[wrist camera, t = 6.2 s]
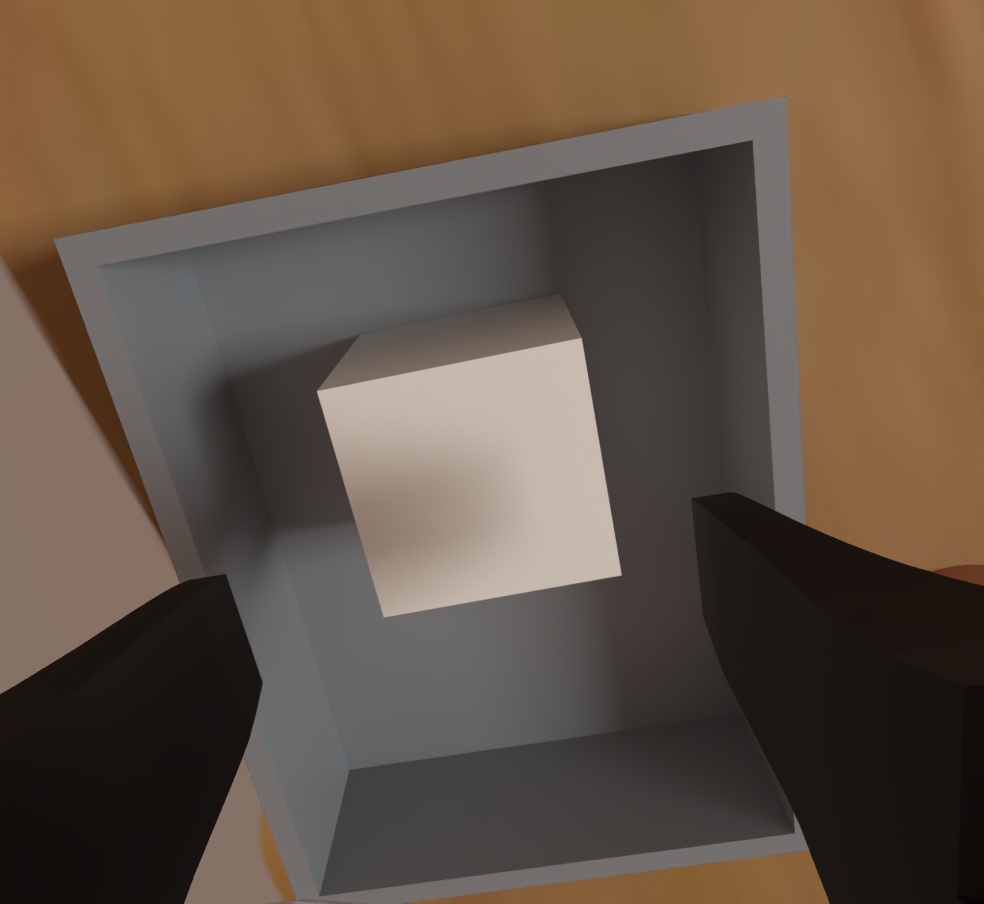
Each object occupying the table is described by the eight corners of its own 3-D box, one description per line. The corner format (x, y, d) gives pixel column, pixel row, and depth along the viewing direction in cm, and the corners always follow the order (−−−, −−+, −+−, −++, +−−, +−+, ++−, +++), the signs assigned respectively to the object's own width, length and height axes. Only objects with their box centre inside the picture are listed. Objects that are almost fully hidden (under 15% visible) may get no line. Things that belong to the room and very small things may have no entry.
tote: (757, 713, 24) (820, 848, 19) (338, 773, 25) (302, 916, 20) (710, 111, 18) (785, 96, 13) (163, 219, 19) (53, 239, 14)
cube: (592, 480, 21) (621, 575, 16) (408, 515, 21) (383, 617, 16) (560, 293, 19) (581, 338, 14) (360, 334, 19) (317, 390, 15)
